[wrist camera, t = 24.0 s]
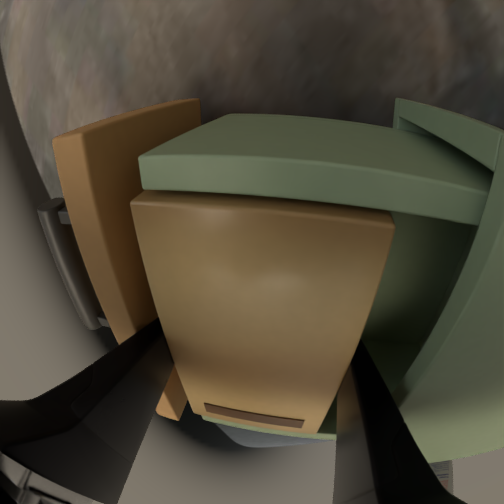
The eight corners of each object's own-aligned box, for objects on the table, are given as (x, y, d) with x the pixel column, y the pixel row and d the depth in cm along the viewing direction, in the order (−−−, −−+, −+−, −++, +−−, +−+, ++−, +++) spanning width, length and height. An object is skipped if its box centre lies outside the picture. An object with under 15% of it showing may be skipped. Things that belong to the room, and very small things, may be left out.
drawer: (136, 306, 20) (84, 385, 14) (91, 112, 12) (-24, 159, 6) (418, 345, 16) (432, 445, 10) (493, 139, 9) (601, 210, 3)
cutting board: (175, 165, 8) (125, 203, 6) (376, 180, 7) (398, 227, 5) (209, 371, 13) (192, 414, 11) (321, 388, 13) (316, 436, 10)
